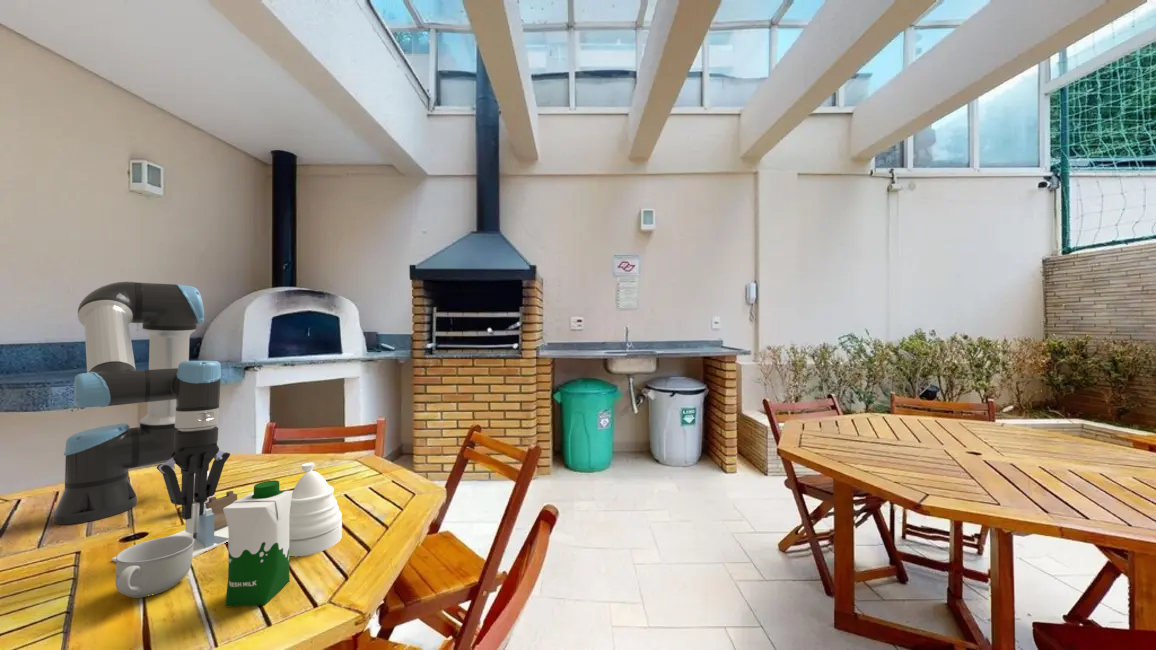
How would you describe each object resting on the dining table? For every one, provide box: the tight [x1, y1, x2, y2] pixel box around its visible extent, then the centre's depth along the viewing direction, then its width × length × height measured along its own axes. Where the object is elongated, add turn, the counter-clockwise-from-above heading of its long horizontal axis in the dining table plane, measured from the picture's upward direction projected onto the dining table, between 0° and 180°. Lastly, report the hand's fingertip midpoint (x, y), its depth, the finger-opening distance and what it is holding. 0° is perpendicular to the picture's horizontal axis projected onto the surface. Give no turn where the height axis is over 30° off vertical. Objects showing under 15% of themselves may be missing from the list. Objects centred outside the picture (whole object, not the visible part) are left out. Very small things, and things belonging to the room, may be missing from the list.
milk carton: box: [223, 479, 293, 607], centre depth 79 cm, size 9×9×20 cm
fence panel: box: [197, 504, 214, 547], centre depth 98 cm, size 1×7×8 cm, turn 56°
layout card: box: [111, 525, 229, 563], centre depth 99 cm, size 16×21×1 cm
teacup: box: [114, 535, 195, 599], centre depth 80 cm, size 14×11×8 cm
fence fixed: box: [193, 490, 238, 538], centre depth 104 cm, size 2×9×9 cm, turn 163°
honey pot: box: [289, 462, 343, 558], centre depth 99 cm, size 13×13×18 cm
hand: (191, 531), depth 95 cm, fingers closed
